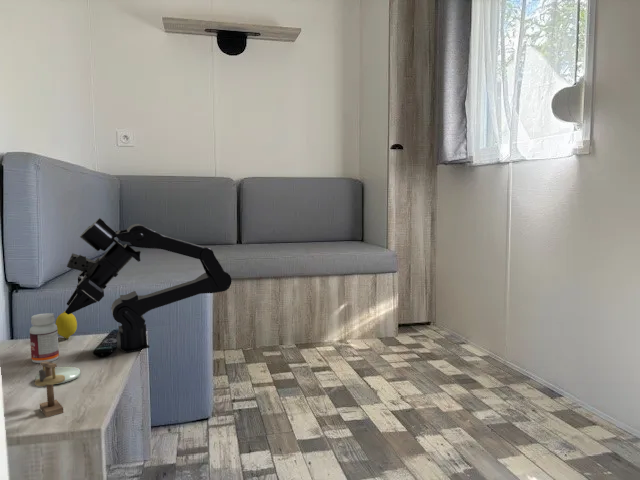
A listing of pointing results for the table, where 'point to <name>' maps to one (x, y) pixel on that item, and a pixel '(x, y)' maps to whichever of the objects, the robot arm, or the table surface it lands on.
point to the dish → (66, 373)
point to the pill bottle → (44, 338)
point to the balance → (49, 388)
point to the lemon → (66, 324)
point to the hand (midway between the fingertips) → (67, 309)
